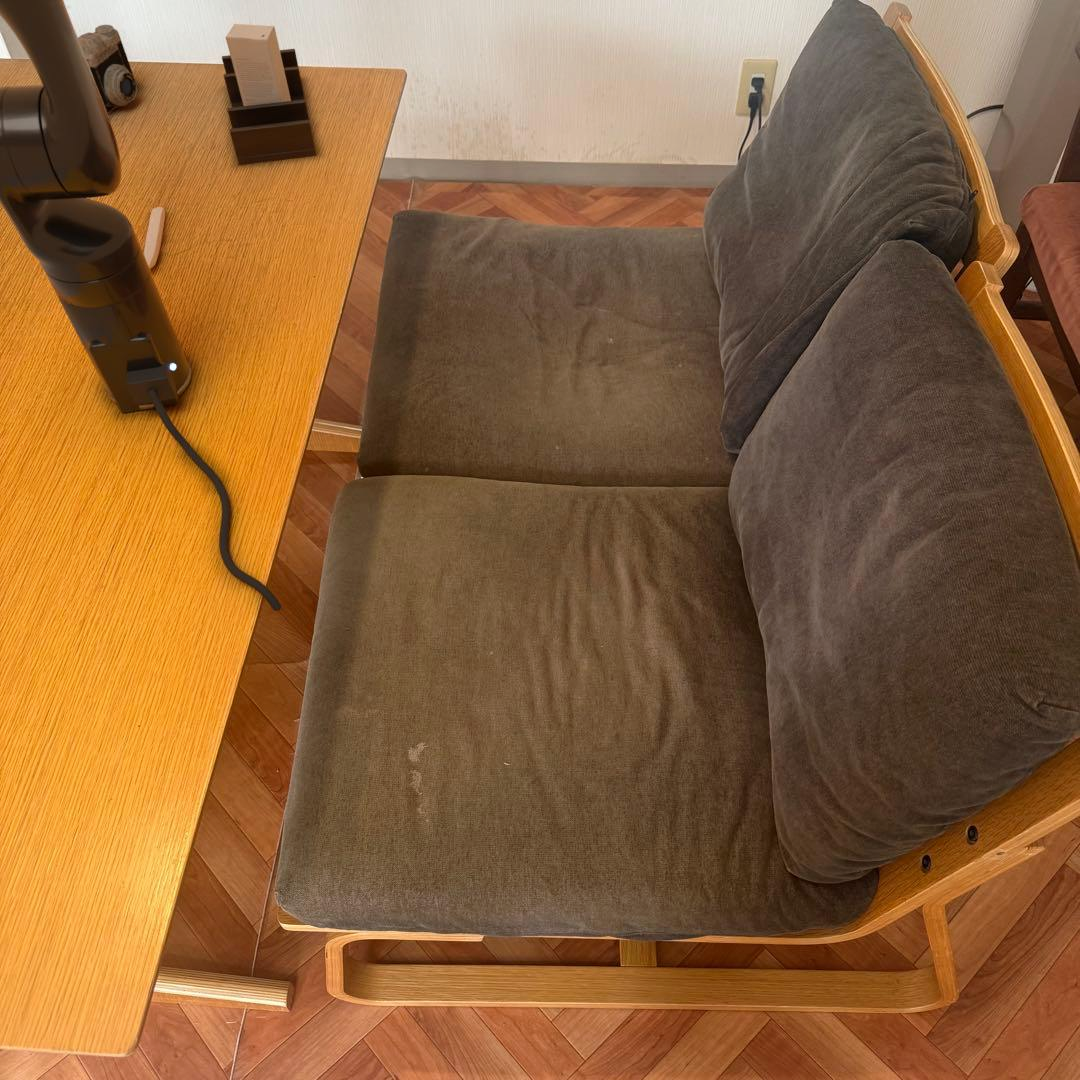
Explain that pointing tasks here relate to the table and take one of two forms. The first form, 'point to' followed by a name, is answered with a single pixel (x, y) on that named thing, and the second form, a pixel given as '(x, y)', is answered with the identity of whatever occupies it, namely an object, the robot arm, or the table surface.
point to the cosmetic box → (257, 64)
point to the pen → (154, 235)
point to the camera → (109, 66)
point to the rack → (270, 119)
